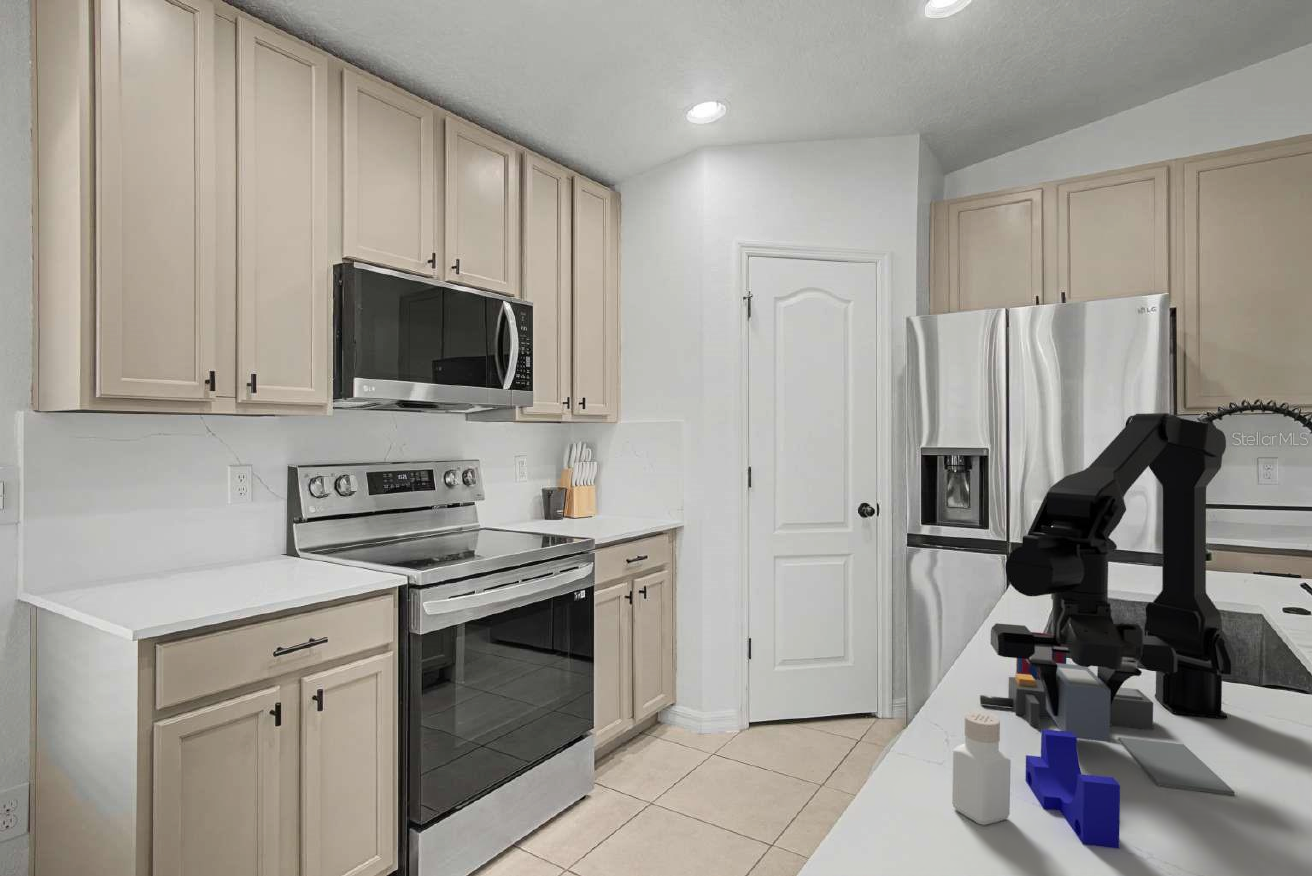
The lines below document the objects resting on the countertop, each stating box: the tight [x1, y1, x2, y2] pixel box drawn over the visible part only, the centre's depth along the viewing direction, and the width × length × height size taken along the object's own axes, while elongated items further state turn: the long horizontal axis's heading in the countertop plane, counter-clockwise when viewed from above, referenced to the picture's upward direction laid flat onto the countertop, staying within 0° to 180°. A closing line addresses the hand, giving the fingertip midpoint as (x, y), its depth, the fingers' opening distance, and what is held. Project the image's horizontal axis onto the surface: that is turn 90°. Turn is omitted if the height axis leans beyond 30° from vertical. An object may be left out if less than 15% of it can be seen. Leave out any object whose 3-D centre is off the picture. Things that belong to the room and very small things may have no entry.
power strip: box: [979, 672, 1154, 731], centre depth 95 cm, size 20×8×4 cm, turn 75°
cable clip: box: [1025, 728, 1121, 850], centre depth 71 cm, size 12×4×6 cm, turn 168°
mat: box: [1117, 736, 1236, 796], centre depth 82 cm, size 7×12×1 cm, turn 165°
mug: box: [1015, 631, 1068, 680], centre depth 108 cm, size 7×10×7 cm
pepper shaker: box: [951, 711, 1012, 826], centre depth 70 cm, size 4×4×10 cm
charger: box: [1046, 663, 1111, 743], centre depth 87 cm, size 4×9×6 cm, turn 164°
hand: (1077, 717), depth 86 cm, fingers closed on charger, 4 cm apart
